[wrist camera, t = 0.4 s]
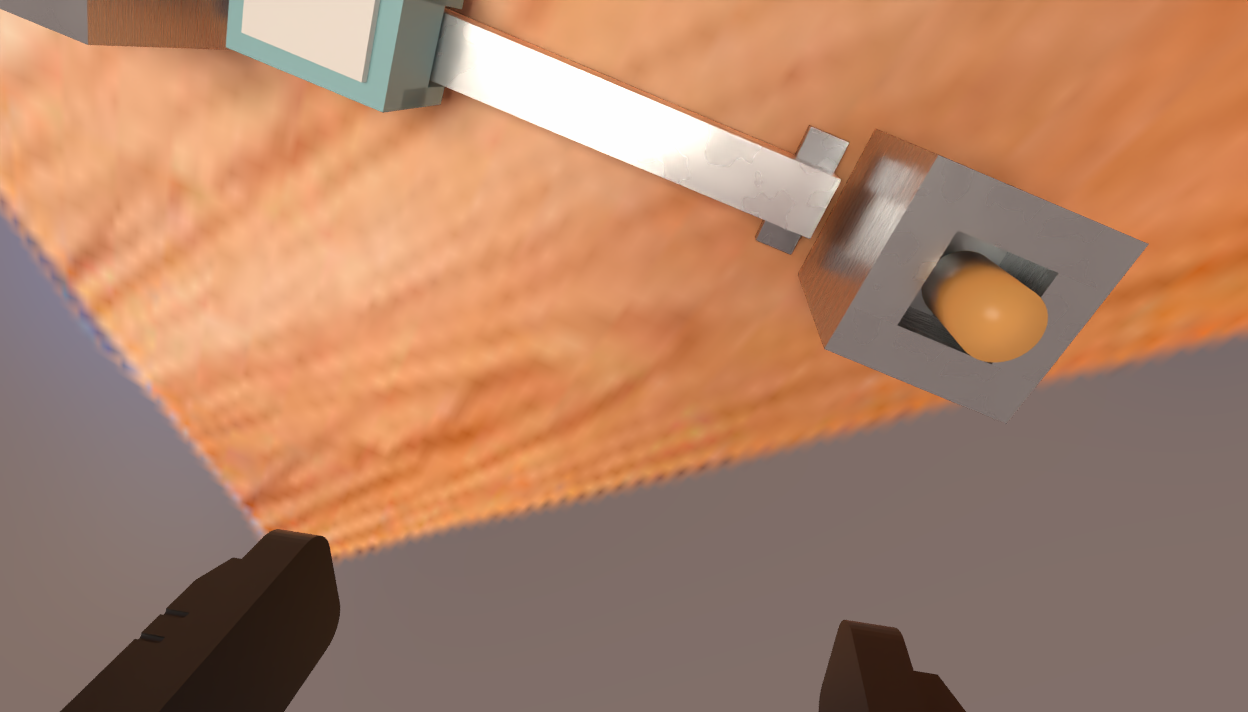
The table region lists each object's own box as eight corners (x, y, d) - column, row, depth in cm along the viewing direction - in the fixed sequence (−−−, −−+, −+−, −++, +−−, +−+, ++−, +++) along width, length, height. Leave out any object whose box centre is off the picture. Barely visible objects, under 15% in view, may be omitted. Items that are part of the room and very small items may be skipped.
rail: (274, -101, 30) (230, -118, 28) (846, 140, 31) (857, 148, 28) (261, 30, 33) (220, 27, 30) (789, 250, 34) (795, 266, 31)
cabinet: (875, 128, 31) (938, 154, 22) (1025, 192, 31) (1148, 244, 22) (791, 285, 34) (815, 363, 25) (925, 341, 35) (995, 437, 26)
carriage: (326, -71, 29) (228, -104, 24) (466, -11, 29) (403, -30, 24) (310, 50, 32) (218, 46, 26) (440, 104, 32) (378, 112, 26)
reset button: (947, 239, 24) (989, 272, 21) (1012, 267, 25) (1066, 304, 21) (907, 302, 26) (940, 343, 22) (970, 328, 26) (1013, 374, 22)
